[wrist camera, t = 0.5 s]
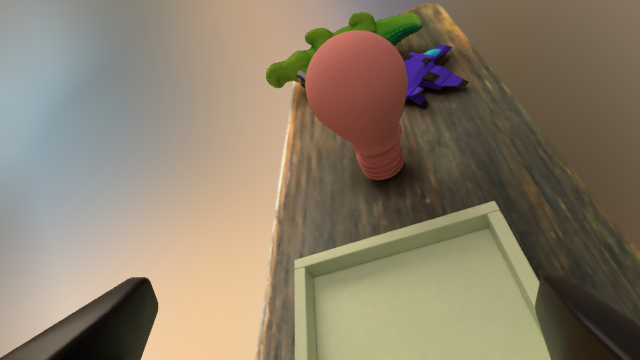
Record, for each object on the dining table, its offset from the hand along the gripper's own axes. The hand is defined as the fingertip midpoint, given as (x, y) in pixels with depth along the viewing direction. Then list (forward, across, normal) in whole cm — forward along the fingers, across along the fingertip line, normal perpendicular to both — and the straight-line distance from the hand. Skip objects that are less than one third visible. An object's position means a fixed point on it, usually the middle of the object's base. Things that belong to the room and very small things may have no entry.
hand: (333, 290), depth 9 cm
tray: (+10, -3, +12) cm, 16 cm away
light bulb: (+23, -2, +8) cm, 25 cm away
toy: (+41, +2, -1) cm, 41 cm away
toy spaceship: (+34, -7, +3) cm, 35 cm away
